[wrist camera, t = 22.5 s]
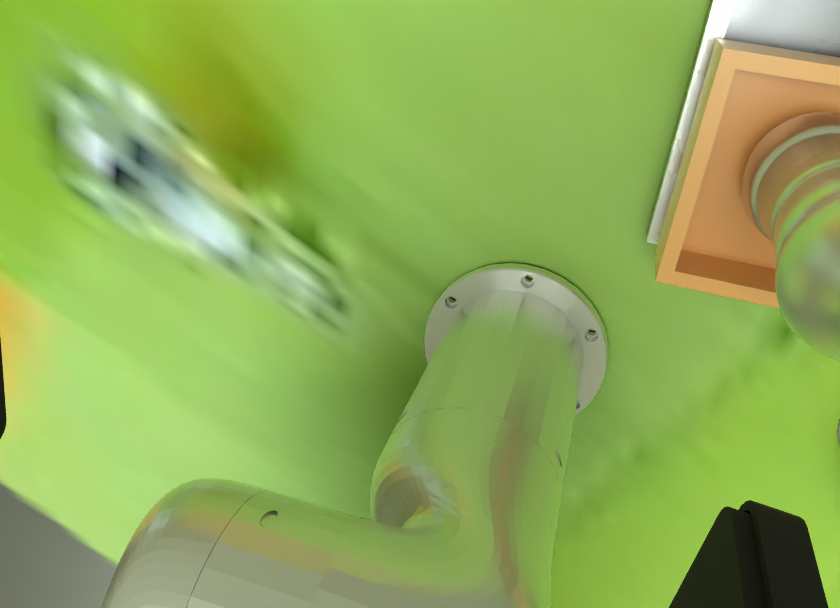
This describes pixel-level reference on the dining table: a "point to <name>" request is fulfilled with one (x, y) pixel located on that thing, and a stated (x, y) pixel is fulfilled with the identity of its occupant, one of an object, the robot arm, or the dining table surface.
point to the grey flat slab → (757, 24)
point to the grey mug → (839, 432)
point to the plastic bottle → (801, 222)
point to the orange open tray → (735, 167)
